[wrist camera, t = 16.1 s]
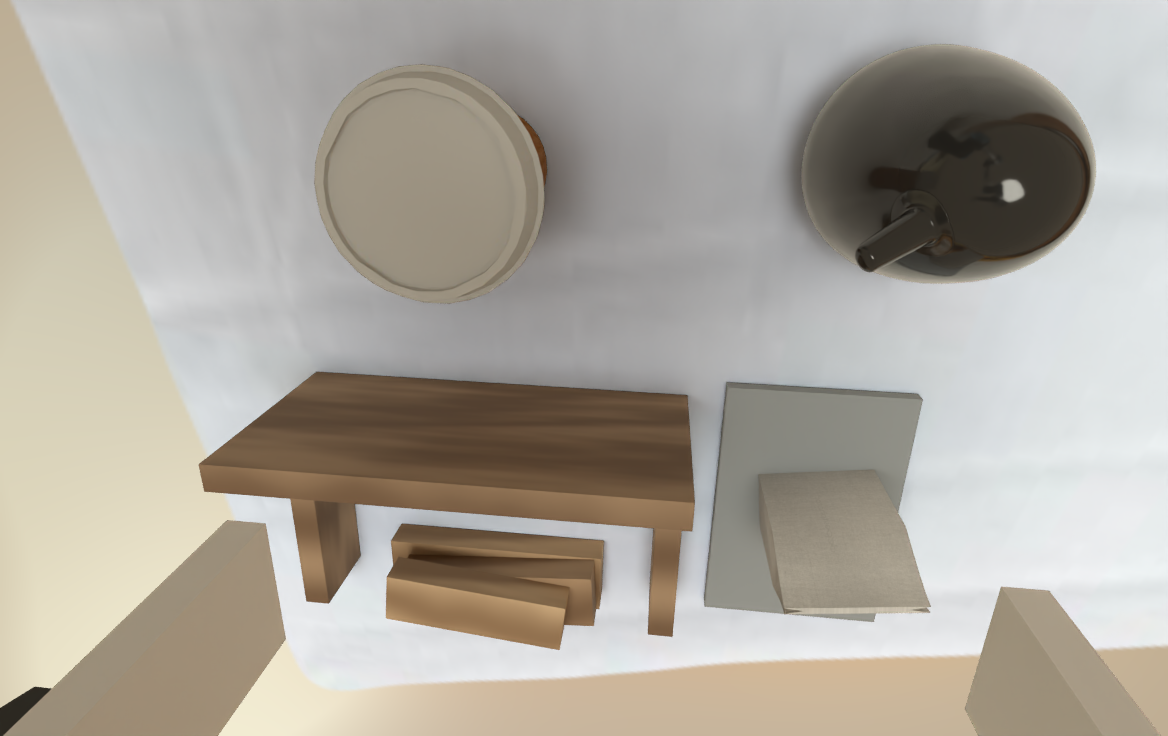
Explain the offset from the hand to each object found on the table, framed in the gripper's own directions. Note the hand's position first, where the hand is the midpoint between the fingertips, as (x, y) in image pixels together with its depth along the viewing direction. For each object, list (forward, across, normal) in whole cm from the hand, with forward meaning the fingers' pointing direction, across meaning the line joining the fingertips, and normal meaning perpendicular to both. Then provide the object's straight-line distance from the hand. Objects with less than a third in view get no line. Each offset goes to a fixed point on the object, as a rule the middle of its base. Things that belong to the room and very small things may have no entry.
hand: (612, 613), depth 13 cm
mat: (+29, +10, -15) cm, 34 cm away
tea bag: (+28, +11, -14) cm, 33 cm away
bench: (+29, -9, -15) cm, 34 cm away
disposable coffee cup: (+29, -9, +5) cm, 31 cm away
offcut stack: (+29, -9, -21) cm, 37 cm away
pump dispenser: (+29, +12, +6) cm, 32 cm away
